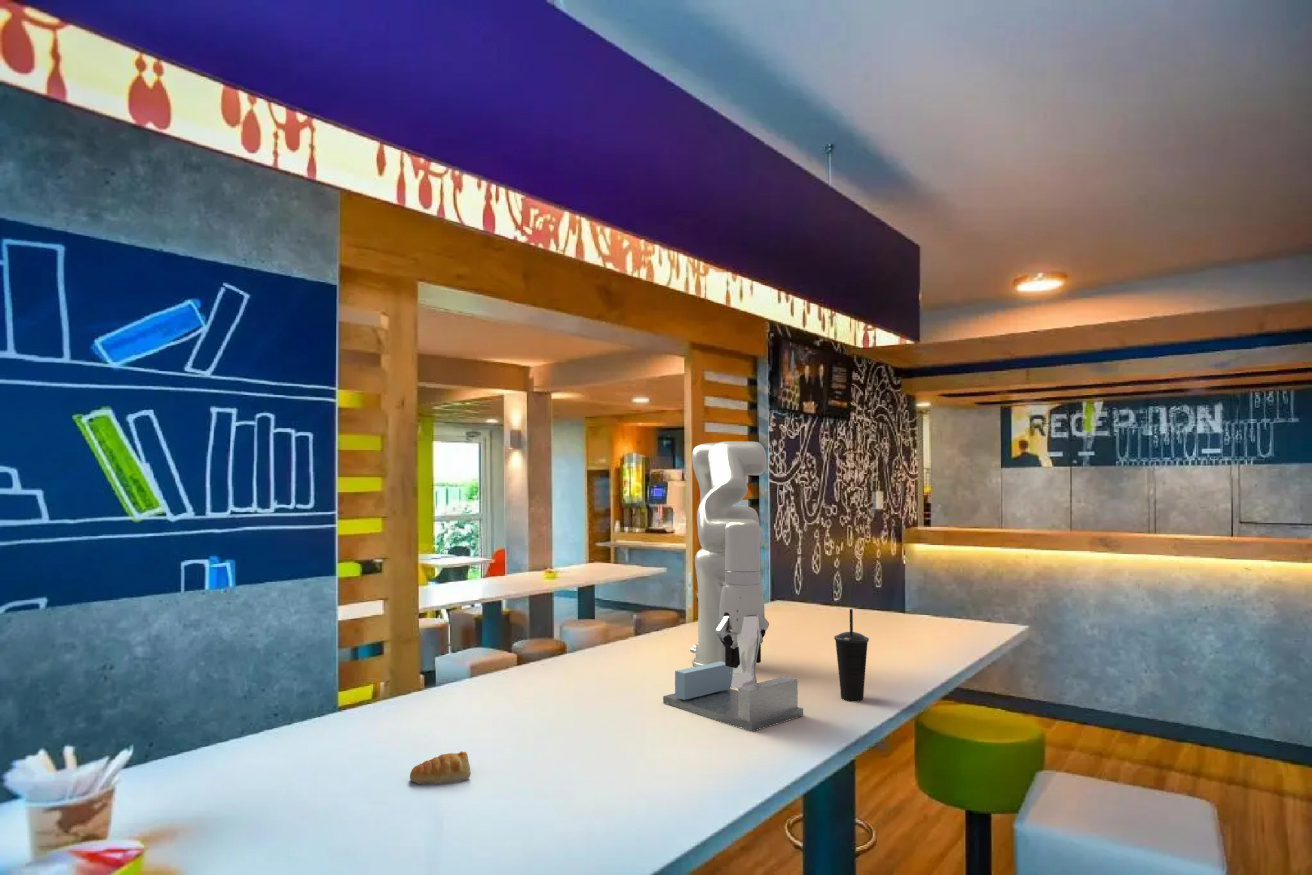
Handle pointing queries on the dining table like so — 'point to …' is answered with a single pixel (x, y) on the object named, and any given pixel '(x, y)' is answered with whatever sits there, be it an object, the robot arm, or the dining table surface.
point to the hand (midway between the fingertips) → (743, 663)
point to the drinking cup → (851, 662)
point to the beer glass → (746, 653)
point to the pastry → (442, 769)
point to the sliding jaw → (701, 680)
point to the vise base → (726, 709)
